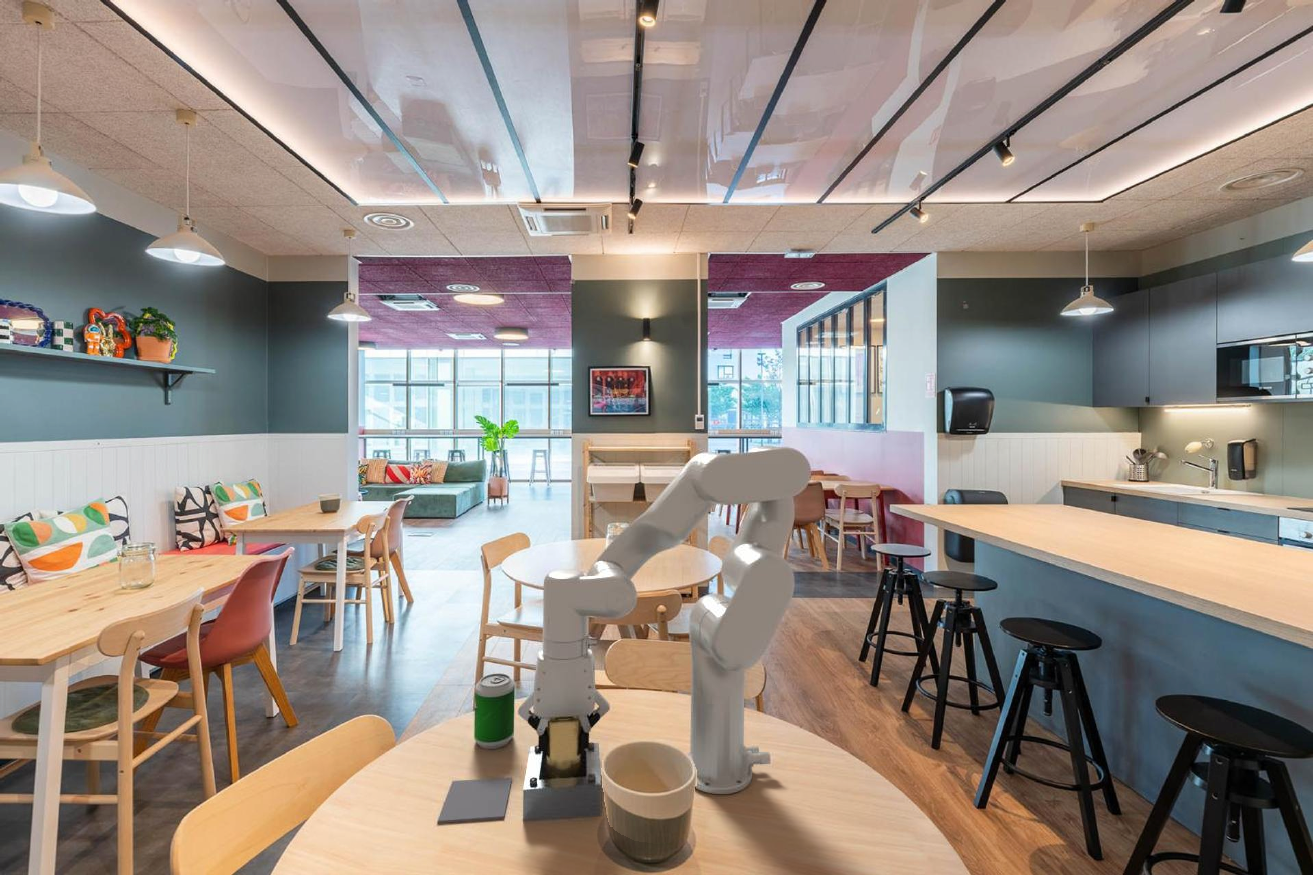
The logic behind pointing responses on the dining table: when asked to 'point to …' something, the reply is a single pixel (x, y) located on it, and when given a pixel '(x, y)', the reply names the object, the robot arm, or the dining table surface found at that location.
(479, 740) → the soda can
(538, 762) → the housing
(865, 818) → the dining table surface
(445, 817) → the rubber mat
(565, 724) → the tan cylinder
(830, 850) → the dining table surface
